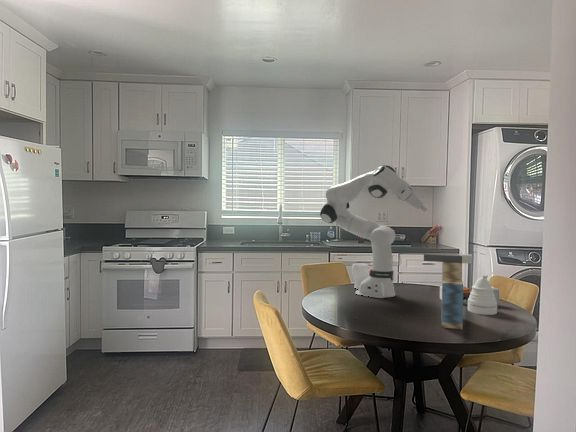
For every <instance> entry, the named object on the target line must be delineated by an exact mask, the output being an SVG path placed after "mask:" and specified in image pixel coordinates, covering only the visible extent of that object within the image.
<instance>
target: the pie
mask: <svg viewBox="0 0 576 432" xmlns="http://www.w3.org/2000/svg"><path fill="white" fill-rule="evenodd" d="M471 291H472V289H470V288H469V287H467V286H463V299H464V297H465V298H469V295H470V292H471Z"/></svg>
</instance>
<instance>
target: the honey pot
mask: <svg viewBox="0 0 576 432" xmlns="http://www.w3.org/2000/svg"><path fill="white" fill-rule="evenodd" d="M488 277H489V275H488V274H481V277H478V279H477V280H476V281H475V283H474V284H473V285H471V288H472V289H471V290H472V291H471V292H470V294H469V296H468V297H467V311H468V312H470V313H473V314H477V315H485V316H489V315H490V316H491V315H497V313H498V306H497V301H496V298H495V295H494V293H493V290H495V288H496V287H494V286H491V284H490V282H489V281H488Z"/></svg>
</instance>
